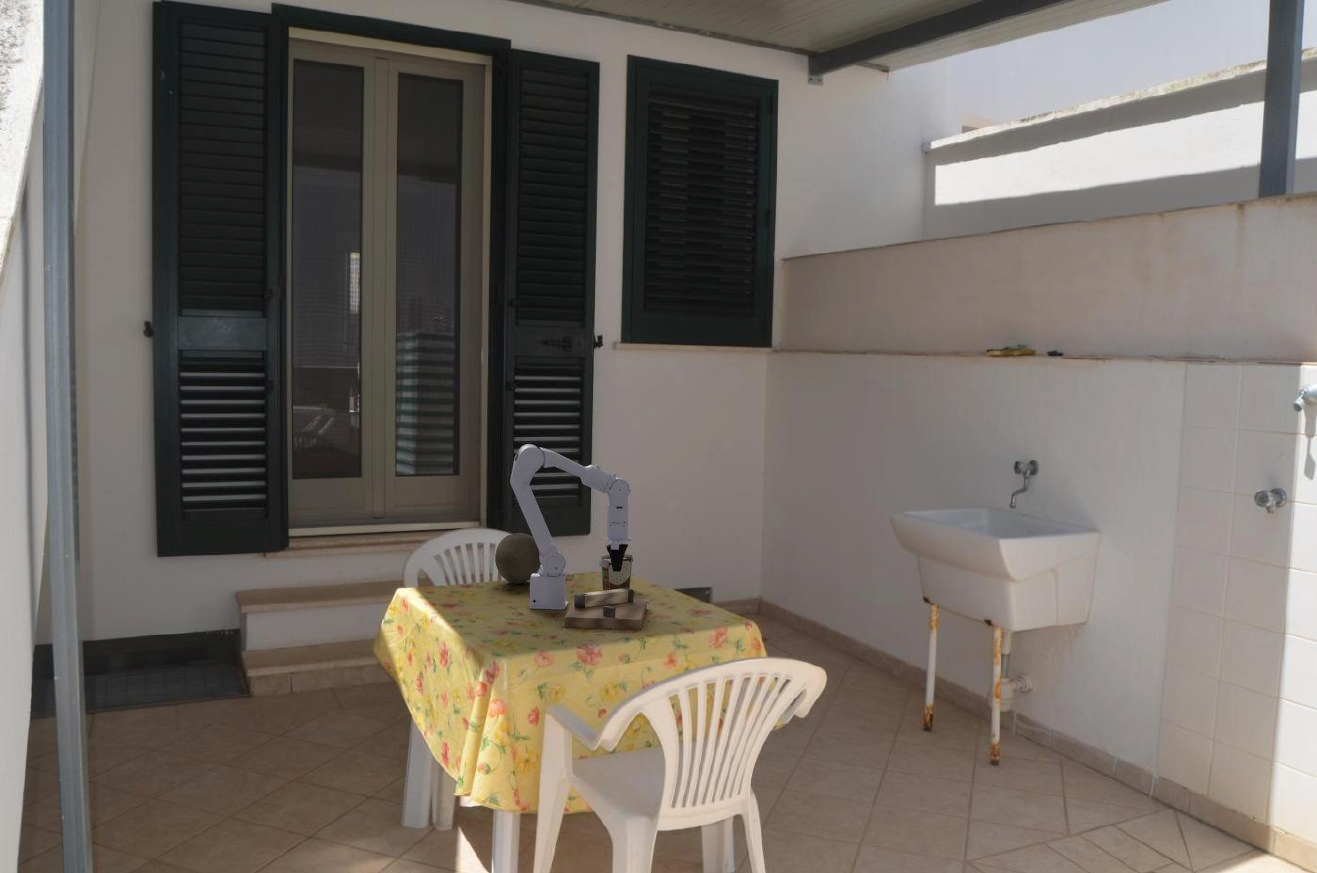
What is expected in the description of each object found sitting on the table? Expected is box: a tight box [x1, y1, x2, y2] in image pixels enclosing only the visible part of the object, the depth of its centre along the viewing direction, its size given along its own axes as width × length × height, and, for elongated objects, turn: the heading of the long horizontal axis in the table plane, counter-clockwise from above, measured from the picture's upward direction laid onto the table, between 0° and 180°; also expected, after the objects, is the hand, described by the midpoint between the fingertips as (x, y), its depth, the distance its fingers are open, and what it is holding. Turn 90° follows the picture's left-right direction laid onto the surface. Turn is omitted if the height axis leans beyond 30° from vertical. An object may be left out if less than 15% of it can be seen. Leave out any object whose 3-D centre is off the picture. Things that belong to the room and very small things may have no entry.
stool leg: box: [573, 587, 635, 608], centre depth 279 cm, size 17×3×3 cm, turn 122°
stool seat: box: [564, 598, 648, 630], centre depth 275 cm, size 19×22×5 cm
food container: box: [598, 553, 634, 591], centre depth 306 cm, size 12×6×10 cm, turn 144°
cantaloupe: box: [494, 532, 542, 585], centre depth 312 cm, size 14×14×15 cm
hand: (617, 571), depth 289 cm, fingers closed
